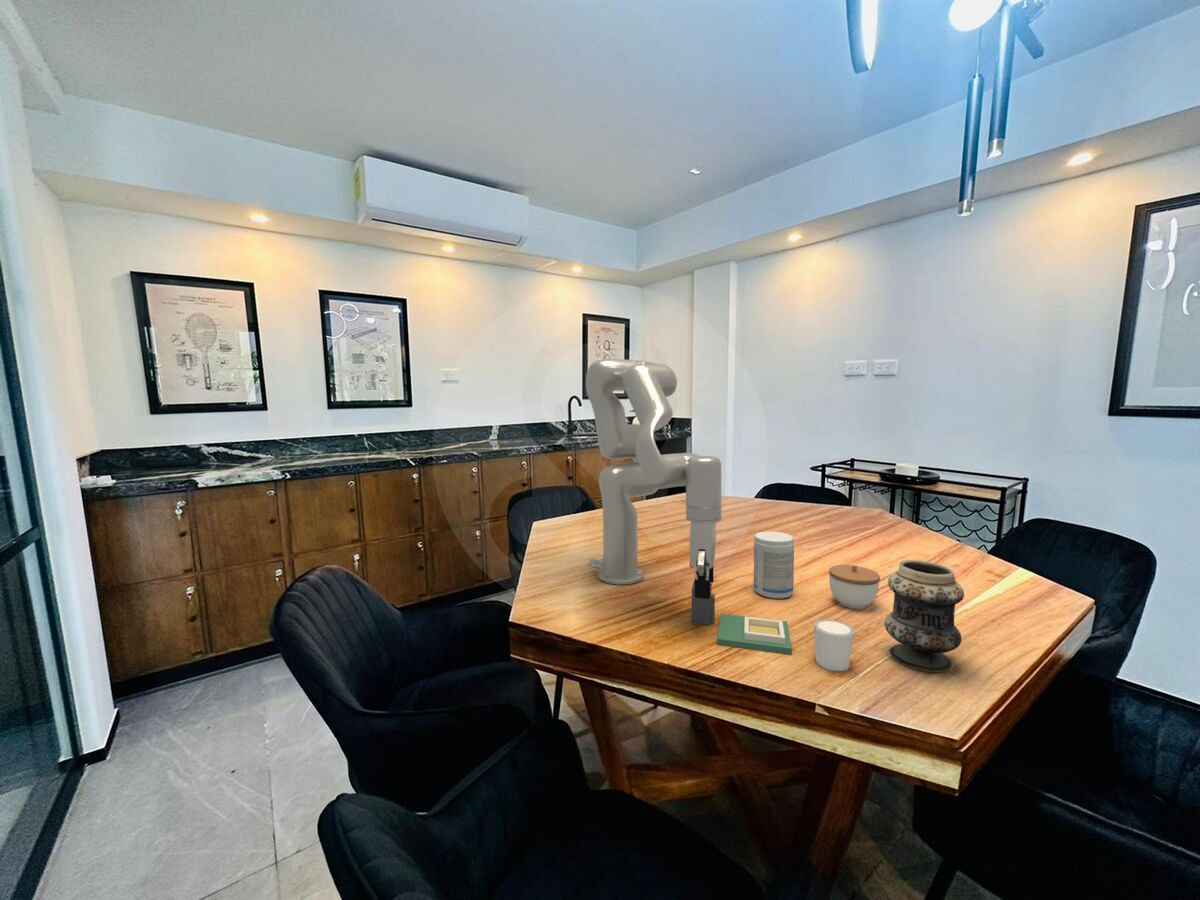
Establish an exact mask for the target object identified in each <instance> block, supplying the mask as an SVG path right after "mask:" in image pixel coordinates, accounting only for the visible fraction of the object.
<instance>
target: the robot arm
mask: <svg viewBox="0 0 1200 900" xmlns="http://www.w3.org/2000/svg"><path fill="white" fill-rule="evenodd" d="M585 376H586V377H585V388H586V394H587V396H588V397H587V398H588V399H589V402H590V404H591V407H592V410H593V415H594V421H595V427H596V434H597V441H598V447H599V452H600V454H601V456H602V457H603V458H605V459H607V460H624V459H632V461H633V462H626V463H614V464H611V465H608V466H606V467H605V468H603V469H602V470H601V472H600V473H599V475H598V476H599V477H598V485H599V491H600V496H601V503H602V504H601V505H602V530H603V531H602V544H603V545H602V546H603V550H602V551H603V552H602V553H603V558H600V559H596V558H595V559H594V558H590V559H589V561H588V564H589V565H588V566H589V567H590V568H591V569H598V572H597V578H598V579H599V580H600V581H602V582H604V583H607V584H610V585H611V584H612V585H620V586H623V585H625V586H626V585H631V584H635V583H638V582H640V581H641V580H643V578H644V572H643V570H641V569H640V568H639V567H638V565H639V564H638V563H639V562H638V561H639V559H638V557H639V555H638V554H639V553H638V550H639V548H638V547H639V544H638V543H639V540H638V537H639V536H638V535H639V534H638V532H639V531H638V530H639V529H638V528H639V527H638V525H639V523H638V513H637V509H636V508H635V506H634V504H633V502H632V501H631V498H633V499H634V498H637V497H638V498H639V497H644V496H645V497H646V496H649V495H653V494H655V493H656V492H657V491H658V490H659V489H669V488H670V489H671V488H676V487H685V509H686V510H685V513H686V515H685V517H686V521H688V522H690V530H689V567H690V568H691V569H693V568H695V572H694V573H695V575H694V582H695V598H703V599H710V583H712V584H713V583H714V563H715V556H716V548H717V547H716V545H717V544H716V543H717V523H720V522H721V521H722V520H723V518H722V517H723V515H722V506H723V505H722V462H721V460H720V459H719V458H718V457H717V456H712V455H699V454H696V453H693V452H681V453H667V454H666V453H665V454H661V453H660V451H659V448H658V446H657V444H656V440H655V432H656V431H658V430H660V429H662V428H664V426H666V425H667V424H668V423H669V422H670V421H671V419H673V418H672V417H673V414H674V411H673V409H672V406H671V405H670V403H669V401H668V399H667V398H668V397H670V396H672V395H673V394H674V393H675V392H676V390H677V387H678V386H677V385H678V380H677V376H676V373H675V371H674V370H673V369H672V368H671V367H670V366H668V365H666V364H660V363H658V362H657V363H656V362H651V361H648V360H647V361H646V360H640V359H639V360H638V359H623V358H622V359H620V358H605V359H599V360H596V361H593V363H591V364H590V365H589V367H588V369H587V371H586V375H585ZM614 391H619V392H622V391H623V392H625V393H626V396H627V398H628V400H629V403H630V404H631V407H632V409H633V412H634V414H635V416H636V418H637V421H638V423H637V424H636V423H635V424H634V423H633V424H628V422H627V418H626V417H627V416H626V413H625V412H626V411H625V407H624V406H623V404H622V402H621V401H620V398H618V397H617V396H616V394H614Z"/></svg>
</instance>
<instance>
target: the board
mask: <svg viewBox="0 0 1200 900" xmlns="http://www.w3.org/2000/svg"><path fill="white" fill-rule="evenodd" d="M716 639H717V641H716V645H717V646H727V647H732V648H740V649H747V650H754V651H761V652H762V651H763V652H771V653H778V654H785V655H793V654H792V653H793V647H792V642H791V636H790V629H789V624H788V621H786V620H780V619H779V620H777V619H771V618H761V617H753V616H744V615H738V614H737V615H735V614H726V613H720V614H719V623H718V631H717V638H716Z"/></svg>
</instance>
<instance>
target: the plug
mask: <svg viewBox="0 0 1200 900" xmlns="http://www.w3.org/2000/svg"><path fill="white" fill-rule="evenodd" d="M712 584H713V583H710V599H703V598H695V581H693V583H692V587H691V616H690V617H691V619H690V621H691V624H694V625H704V626H711V625H712V624H713V625H714V624H715V618H716V615H715V614H716V613H715V612H716V608H715V607H716V605H715V604H716V594H715V593H712V590H713V589H712V588H713V586H712Z"/></svg>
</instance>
